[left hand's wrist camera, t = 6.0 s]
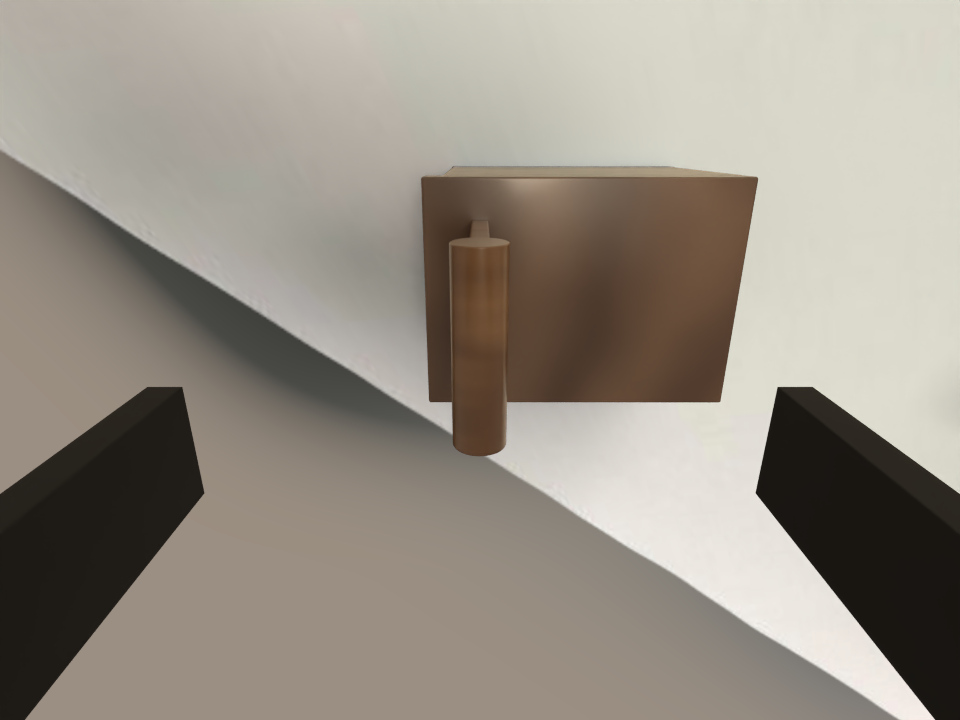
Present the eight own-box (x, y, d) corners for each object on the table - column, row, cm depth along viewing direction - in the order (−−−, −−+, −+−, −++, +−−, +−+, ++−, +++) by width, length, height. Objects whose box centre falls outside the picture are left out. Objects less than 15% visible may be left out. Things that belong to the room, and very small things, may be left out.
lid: (431, 391, 27) (410, 496, 19) (423, 175, 24) (394, 190, 15) (710, 391, 27) (807, 496, 19) (745, 175, 24) (883, 191, 15)
